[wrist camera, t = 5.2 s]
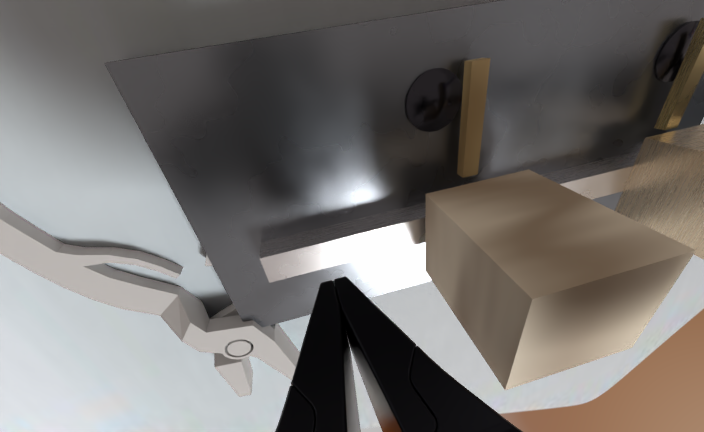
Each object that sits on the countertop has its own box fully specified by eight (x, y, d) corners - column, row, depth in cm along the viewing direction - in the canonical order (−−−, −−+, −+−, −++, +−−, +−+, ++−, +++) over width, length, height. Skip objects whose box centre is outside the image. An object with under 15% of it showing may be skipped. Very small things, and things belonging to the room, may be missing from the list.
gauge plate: (745, -37, 11) (1367, -150, 5) (631, 211, 16) (837, 306, 10) (122, 61, 8) (-353, 101, 2) (249, 314, 14) (228, 519, 8)
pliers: (227, 41, 7) (359, 355, 15) (234, 42, 9) (352, 330, 17) (-180, 161, 7) (181, 422, 15) (-105, 142, 8) (188, 392, 16)
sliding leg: (531, 48, 9) (828, 50, 4) (498, 235, 13) (631, 347, 8) (413, 70, 9) (591, 99, 4) (416, 256, 12) (505, 390, 8)
